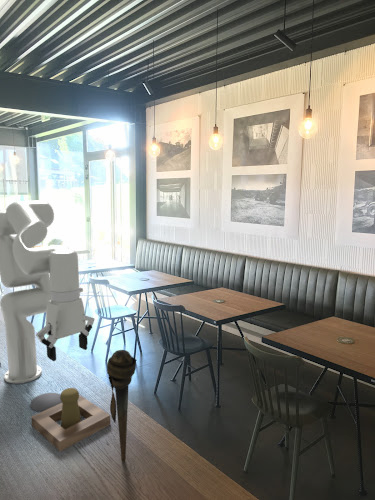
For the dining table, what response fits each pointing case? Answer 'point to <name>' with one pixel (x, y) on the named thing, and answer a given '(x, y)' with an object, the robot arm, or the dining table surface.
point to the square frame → (75, 433)
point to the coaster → (45, 401)
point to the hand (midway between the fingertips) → (68, 353)
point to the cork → (70, 408)
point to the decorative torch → (120, 391)
